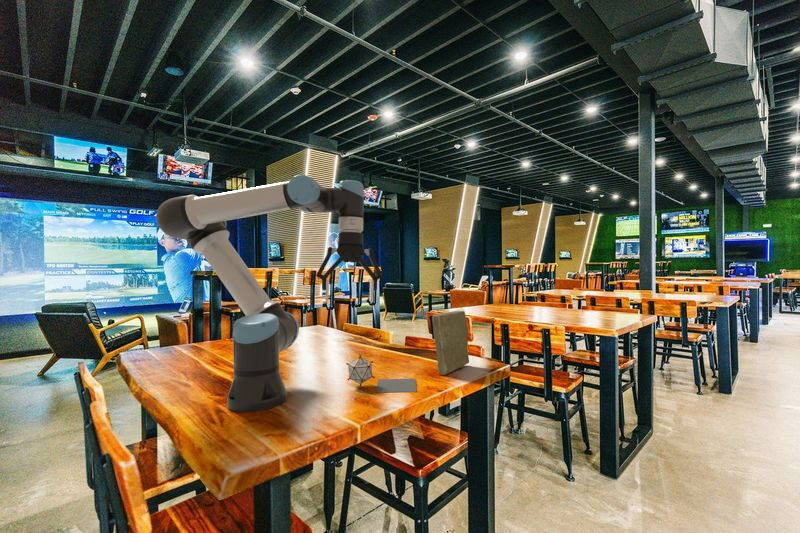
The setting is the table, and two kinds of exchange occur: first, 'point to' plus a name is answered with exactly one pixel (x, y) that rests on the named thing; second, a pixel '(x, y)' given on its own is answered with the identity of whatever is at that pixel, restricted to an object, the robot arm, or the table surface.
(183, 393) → the table surface
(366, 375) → the game die
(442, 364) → the decorative tile
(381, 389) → the mat
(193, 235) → the robot arm
